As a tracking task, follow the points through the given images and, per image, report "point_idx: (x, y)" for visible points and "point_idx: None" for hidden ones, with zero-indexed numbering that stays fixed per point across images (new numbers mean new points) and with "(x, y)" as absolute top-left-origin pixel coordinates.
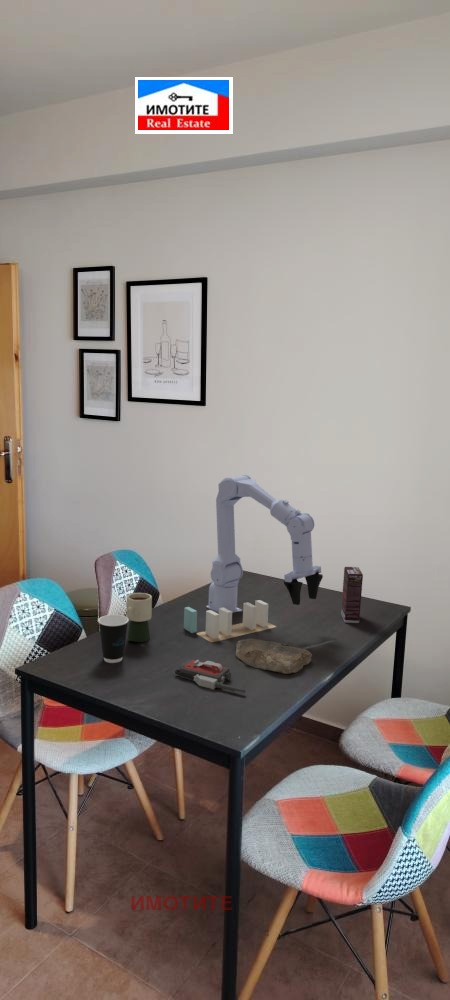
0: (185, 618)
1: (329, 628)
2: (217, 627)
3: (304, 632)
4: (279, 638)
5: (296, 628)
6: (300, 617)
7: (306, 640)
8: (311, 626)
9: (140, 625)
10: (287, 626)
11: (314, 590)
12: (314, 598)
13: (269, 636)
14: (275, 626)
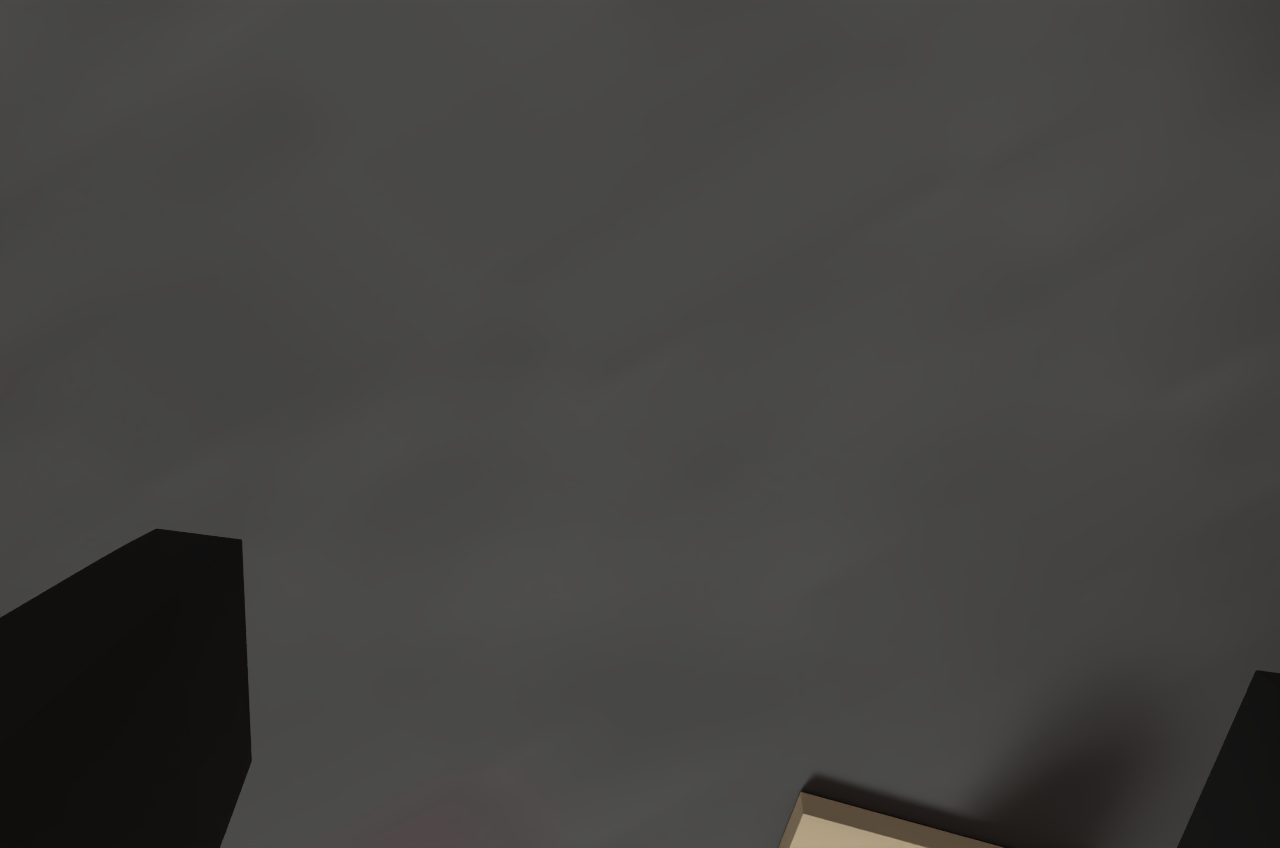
0: None
1: (65, 112)
2: None
3: (613, 365)
4: (1186, 542)
5: (547, 569)
6: None
7: (960, 114)
8: (257, 426)
9: None
10: (579, 722)
11: (16, 832)
12: (234, 566)
13: (1203, 706)
14: (808, 836)
